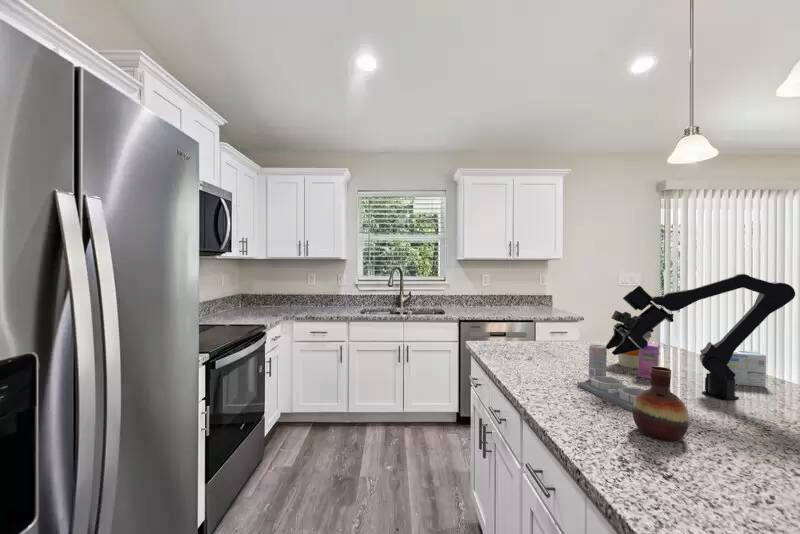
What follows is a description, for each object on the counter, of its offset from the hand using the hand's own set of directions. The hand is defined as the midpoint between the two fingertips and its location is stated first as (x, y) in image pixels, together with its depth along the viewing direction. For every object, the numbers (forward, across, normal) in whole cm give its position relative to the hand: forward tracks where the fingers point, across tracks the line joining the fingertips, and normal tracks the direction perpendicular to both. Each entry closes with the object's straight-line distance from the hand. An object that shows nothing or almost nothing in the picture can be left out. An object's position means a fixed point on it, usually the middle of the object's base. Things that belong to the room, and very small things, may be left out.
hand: (609, 351), depth 130 cm
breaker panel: (+7, +15, +7) cm, 18 cm away
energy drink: (+10, 0, +5) cm, 11 cm away
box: (-4, -14, +19) cm, 24 cm away
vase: (+6, +42, +9) cm, 43 cm away
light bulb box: (-24, -14, +39) cm, 48 cm away
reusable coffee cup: (-3, -28, +18) cm, 33 cm away
